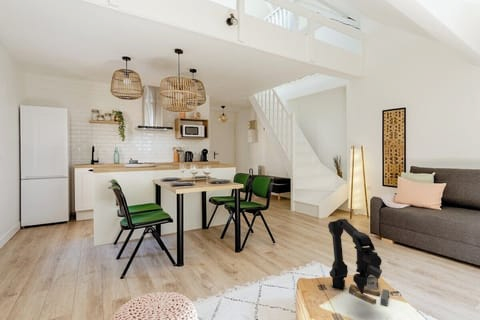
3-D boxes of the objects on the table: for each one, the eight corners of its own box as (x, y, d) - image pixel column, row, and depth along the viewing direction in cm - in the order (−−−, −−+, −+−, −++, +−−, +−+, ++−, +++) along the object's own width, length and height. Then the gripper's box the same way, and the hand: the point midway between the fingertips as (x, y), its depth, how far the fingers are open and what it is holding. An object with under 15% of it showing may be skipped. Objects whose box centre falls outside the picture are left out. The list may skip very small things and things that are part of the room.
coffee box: (379, 289, 151) (378, 262, 151) (367, 289, 152) (366, 261, 152) (374, 282, 160) (373, 256, 160) (363, 281, 161) (362, 256, 161)
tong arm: (349, 292, 148) (349, 286, 148) (351, 291, 149) (350, 285, 149) (374, 304, 136) (374, 297, 136) (376, 303, 137) (375, 296, 137)
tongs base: (348, 293, 148) (348, 288, 148) (351, 288, 153) (351, 284, 153) (378, 300, 139) (378, 296, 139) (379, 295, 145) (379, 290, 145)
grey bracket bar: (380, 304, 135) (380, 298, 135) (383, 294, 145) (383, 289, 145) (387, 306, 134) (387, 300, 134) (389, 296, 143) (389, 290, 143)
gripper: (378, 269, 120) (378, 303, 119) (382, 256, 135) (383, 286, 135) (352, 264, 126) (353, 296, 126) (359, 252, 141) (360, 281, 141)
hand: (363, 289), depth 132 cm, fingers open, 9 cm apart
